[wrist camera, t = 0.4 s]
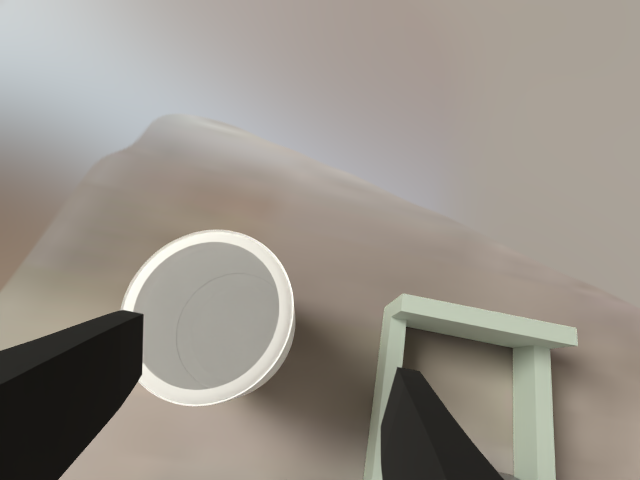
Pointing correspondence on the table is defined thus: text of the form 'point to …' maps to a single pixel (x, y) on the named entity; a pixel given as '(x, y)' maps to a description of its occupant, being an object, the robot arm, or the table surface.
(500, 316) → the lane
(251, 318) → the jar
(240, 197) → the table surface
